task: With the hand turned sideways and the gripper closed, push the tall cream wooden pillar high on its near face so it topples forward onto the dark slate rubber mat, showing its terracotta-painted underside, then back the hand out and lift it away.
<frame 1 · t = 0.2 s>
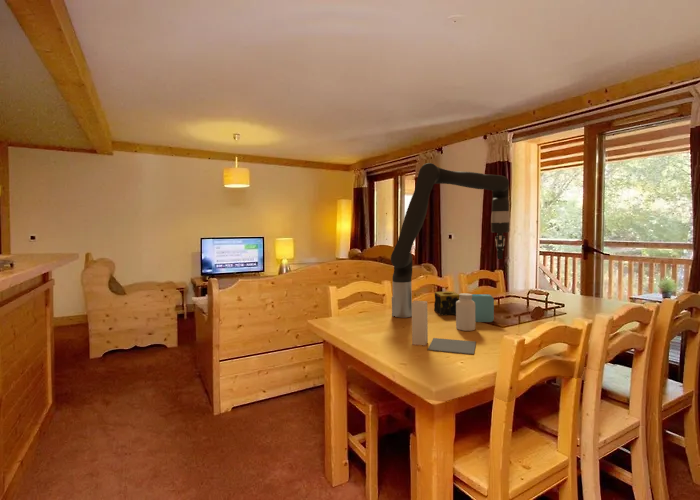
hand: (499, 258, 172), 29 cm above the table, tool pointing down, fingers open, 8 cm apart
pill bottle: (465, 329, 165), on the table
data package: (479, 321, 177), on the table
cream pillar: (420, 343, 147), on the table
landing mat: (452, 346, 143), on the table
black and yellow cube: (446, 313, 194), on the table
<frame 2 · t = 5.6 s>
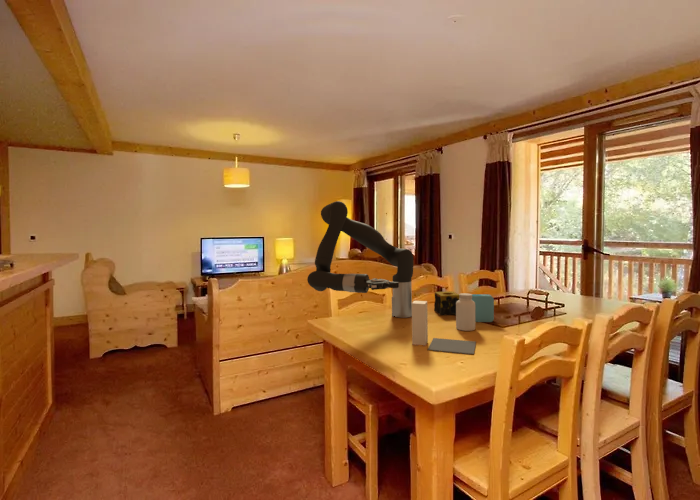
hand: (398, 285, 148), 22 cm above the table, tool horizontal, fingers closed
nothing on the table moved.
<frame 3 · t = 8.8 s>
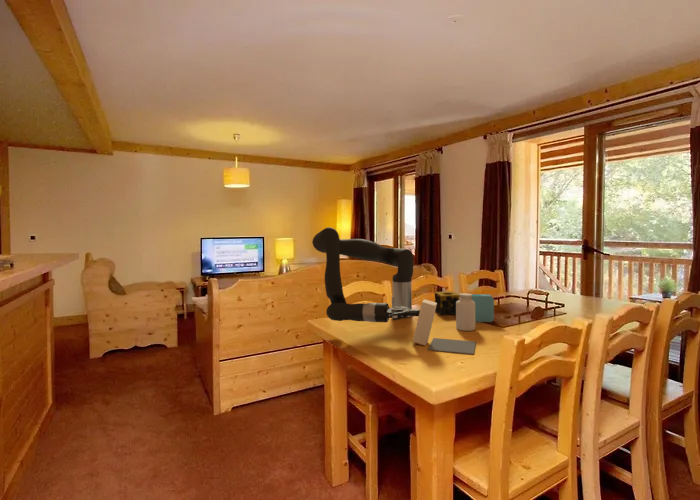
hand: (419, 313, 146), 12 cm above the table, tool horizontal, fingers closed
cream pillar: (420, 342, 147), point 1 cm above the table, tilted 13°
everything else where it was.
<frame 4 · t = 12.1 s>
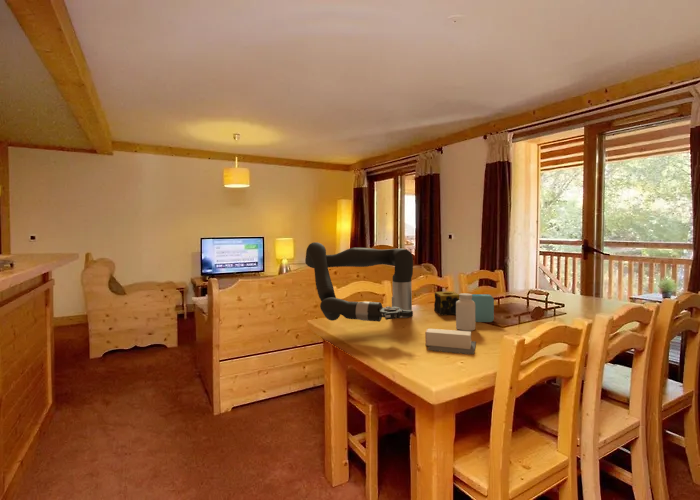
hand: (412, 313, 147), 11 cm above the table, tool horizontal, fingers closed
cream pillar: (426, 336, 146), point 3 cm above the table, tilted 90°, touching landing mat
everything else where it was.
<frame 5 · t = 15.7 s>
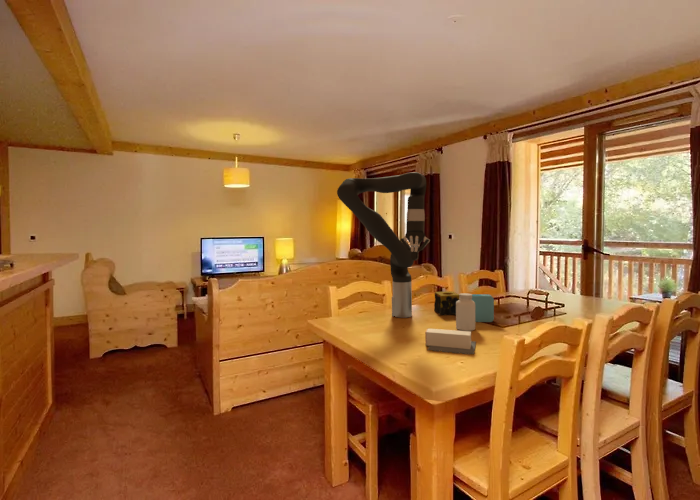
hand: (414, 260, 165), 30 cm above the table, tool pointing down, fingers closed
nothing on the table moved.
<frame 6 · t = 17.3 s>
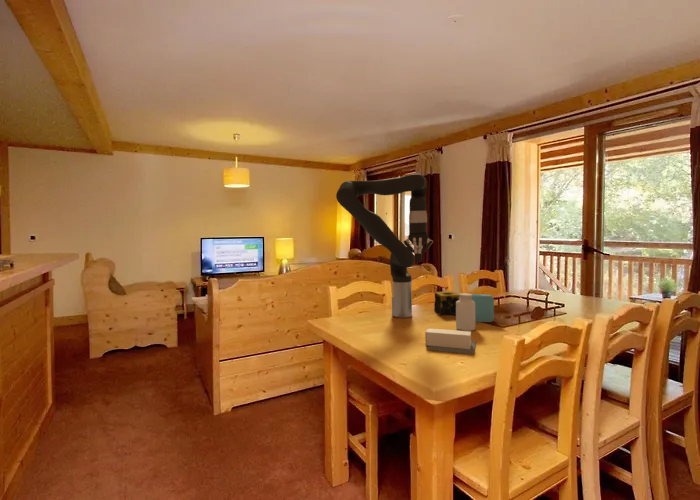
hand: (418, 262, 165), 29 cm above the table, tool pointing down, fingers closed
nothing on the table moved.
at the end: cream pillar tilted 90°; cream pillar inside the target area (1.5 cm from its centre), point 2.9 cm above the table; cream pillar touching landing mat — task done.
